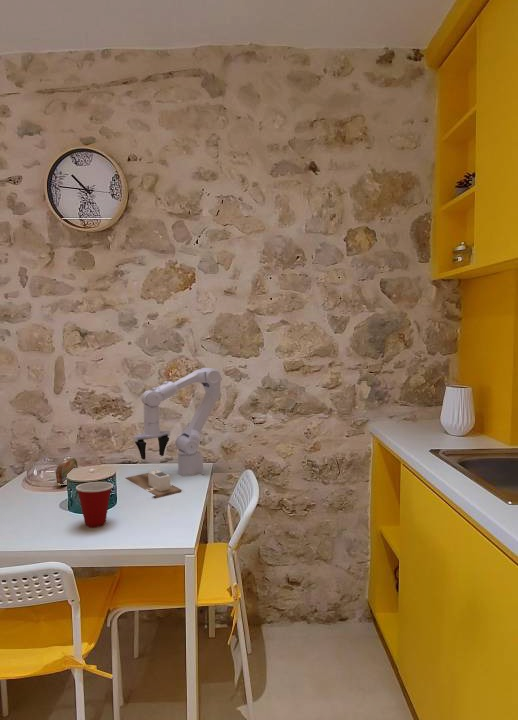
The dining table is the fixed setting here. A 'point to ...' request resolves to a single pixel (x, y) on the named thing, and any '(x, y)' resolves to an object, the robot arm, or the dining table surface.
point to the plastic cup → (94, 502)
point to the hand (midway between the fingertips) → (152, 457)
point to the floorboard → (144, 483)
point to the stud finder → (159, 480)
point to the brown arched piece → (65, 469)
